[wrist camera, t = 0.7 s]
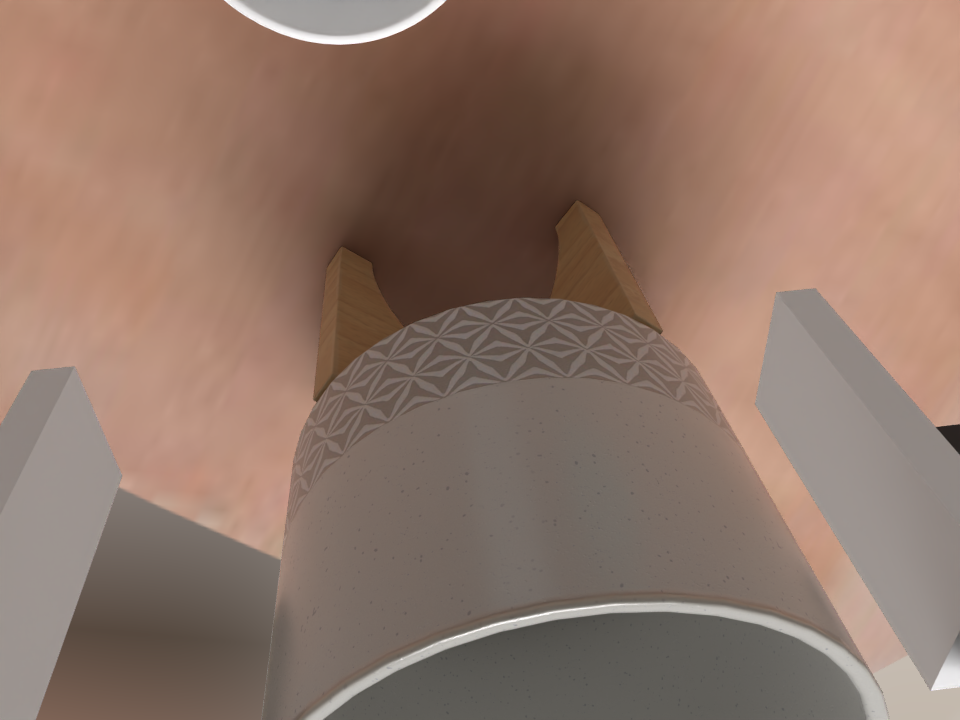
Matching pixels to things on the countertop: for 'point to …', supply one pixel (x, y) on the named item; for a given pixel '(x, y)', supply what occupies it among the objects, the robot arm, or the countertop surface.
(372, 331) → the planter
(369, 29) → the cup
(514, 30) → the countertop surface
